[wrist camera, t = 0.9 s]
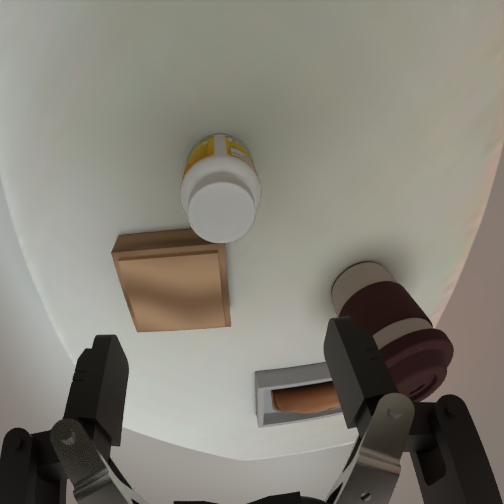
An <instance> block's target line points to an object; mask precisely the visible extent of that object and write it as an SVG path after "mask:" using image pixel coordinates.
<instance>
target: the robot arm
mask: <svg viewBox="0 0 504 504" xmlns="http://www.w3.org/2000/svg"><path fill="white" fill-rule="evenodd" d="M324 356H325V360H326V363H327V366H328V369H329V372H330V375H331V378H332V381H333V384H334V387H335V390H336V393H337V396H338V400H339V403H340V406H341V409H342V412H343V415H344V418H345V421H346V425H347V428H348V429H350V428H354V427H357V429H358V432H359V435H358V437H357V439H356V441H355V444H354V446H353V448H352V450H351V452H350V455H349V457H348V459H347V461H346V463H345V465H344V467H343V470H342V471H341V473H340V475H339V477H338V479H337V480H336V482H335V484H334V485H333V487H332V489H331V490H330V492H329V494H328V496H327V498H326V500H325V501H322V500H319V499H315V498H311V497H304V496H300V492H293V493H287V494H281V495H274V496H268V497H265V498H262V499H259V500H257V501H254V502H251V503H248V504H388V503H389V500H390V498H391V496H392V493H393V491H394V488H395V486H396V483H397V481H398V478H399V475H400V472H401V466H400V465H399V462H400V459H401V456H402V453H403V452H410V455H411V458H412V462H413V465H414V468H415V472H416V476H417V479H418V483H419V486H420V490H421V493H422V497H423V501H424V504H503V503H502V500H501V496H500V493H499V490H498V487H497V484H496V481H495V478H494V475H493V472H492V469H491V466H490V463H489V461H488V458H487V456H486V453H485V450H484V447H483V445H482V442H481V440H480V437H479V435H478V432H477V430H476V427H475V425H474V423H473V420H472V418H471V416H470V413H469V411H468V409H467V406H466V404H465V403H464V401H463V400H462V399H461V398H459V397H458V396H455V395H451V394H450V395H444V396H442V397H441V398H440V399H439V400H438V401H437V402H436V403H431V402H428V403H427V402H413V401H411V400H410V399H409V398H408V397H406V396H405V395H403V394H400V392H399V391H398V389H397V387H396V385H395V383H394V381H393V378H392V376H391V374H390V372H389V370H388V367H387V365H386V363H385V361H384V359H383V358H382V355H381V352H380V350H378V346H377V344H376V342H375V340H374V338H373V336H372V335H371V334H370V333H369V332H368V331H367V330H365V329H364V328H358V329H356V327H355V325H354V323H353V320H352V318H351V317H350V316H345V317H338V318H331V319H330V320H329V323H328V328H327V332H326V337H325V341H324ZM128 375H129V366H128V361H127V358H126V356H125V353H124V351H123V349H122V347H121V344H120V342H119V340H118V338H117V336H116V335H96V336H95V339H94V342H93V346H92V349H87V348H86V349H85V350H84V351H83V353H82V354H81V355H80V357H79V358H78V361H77V364H76V368H75V373H74V376H73V382H72V384H71V388H70V392H69V396H68V400H67V404H66V409H65V413H64V417H63V419H62V420H60V421H58V422H57V423H56V424H55V425H54V426H53V427H52V429H51V430H49V431H44V432H39V433H34V434H29V433H28V432H27V431H26V430H25V429H23V428H14V429H11V430H10V431H9V432H8V433H7V434H6V435H5V437H4V441H3V445H2V451H1V457H0V504H66V483H67V479H70V481H71V483H72V484H73V486H74V489H75V490H74V491H73V494H74V497H75V499H76V501H77V503H78V504H148V503H147V502H146V501H145V500H144V499H143V498H142V497H141V496H140V495H139V494H138V493H137V491H136V490H135V489H134V488H133V487H132V485H131V484H130V482H129V481H128V480H127V478H126V477H125V476H124V474H123V473H122V471H121V470H120V468H119V467H118V466H117V464H116V463H115V461H114V460H113V458H112V457H111V455H110V449H111V446H120V442H121V431H122V422H123V413H124V405H125V397H126V389H127V382H128ZM174 504H217V503H211V502H206V501H174Z"/></svg>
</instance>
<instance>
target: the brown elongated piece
mask: <svg viewBox="0 0 504 504" xmlns="http://www.w3.org/2000/svg"><path fill="white" fill-rule="evenodd" d="M271 397H272V406H273V409H274V410H275V411H280V412H294V413H307V414H308V413H317V412H323V411H327V410H334V409H337V408H341V406H340V403H339V400H338V396H337V393H336V390H335V387H334V384H333V381H327V382H321V383H315V384H309V385H303V386H297V387H290V388H284V389H276V390H274V389H273V390H271Z"/></svg>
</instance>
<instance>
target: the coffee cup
mask: <svg viewBox="0 0 504 504" xmlns="http://www.w3.org/2000/svg"><path fill="white" fill-rule="evenodd" d="M332 301H333V304H334V307H335V310H336V313H337V316H338V317H345V316H350V317H351V318H352V320H353V323H354V325H355V327H356V329H358V328H364V329H365V330H367V331H368V332H369V333H370V334H371V335H372V336H373V338H374V340H375V342H376V344H377V346H378V350H380V352H381V355H382V358H383V359H384V361H385V363H386V365H387V367H388V370H389V372H390V374H391V376H392V378H393V381H394V383H395V385H396V387H397V389H398V391H399V392H400V394H403V395H405V396H406V397H408V398H409V399H410V400H411V401H413V402H420V401H422V400H423V399H425V398H427V397H428V396H429V395H431V394H432V393H433V392H434V391H435V390H436V389H437V388H438V387H439V386H440V385H441V384H442V382H443V381H444V379H445V377H446V375H447V367H448V365H449V364H450V362H451V360H452V357H453V352H454V349H453V345H452V343H451V342H450V340H449V339H448V337H447V336H446V334H445V333H444V332H442V331H441V330H438V329H433V326H432V323H431V321H430V319H429V318H428V317H427V316H426V314H425V313H424V312H423V311H422V309H421V308H420V307H419V306H418V304H417V303H416V302H415V301H414V299H413V298H412V297H411V296H410V295H409V293H408V292H407V291H406V290H405V289H404V287H403V286H401V285H400V284H398V283H397V282H396V281H395V280H394V278H393V277H392V276H391V275H390V274H389V272H388V271H387V270H386V269H385V268H384V267H383V266H381V265H379V264H377V263H372V262H366V263H361V264H357V265H355V266H353V267H351V268H349V269H348V270H346V271H345V272H344V273H343V274H341V275H340V277H339V278H338V279H337V281H336V282H335V284H334V286H333V289H332Z"/></svg>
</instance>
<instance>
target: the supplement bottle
mask: <svg viewBox="0 0 504 504" xmlns="http://www.w3.org/2000/svg"><path fill="white" fill-rule="evenodd" d="M180 198H181V203H182V207H183V209H184V211H185V213H186V214H187V216H188V220H189V224H190V225H191V227H192V229H193V230H194V232H195V233H196V234H197V235H198V236H199V237H201V238H203V239H205V240H207V241H209V242H213V243H229V242H233V241H235V240H237V239H239V238H241V237H242V236H244V235H245V234H246V233H247V232H248V231H249V230H250V228H251V227H252V225H253V223H254V220H255V215H256V211H257V209H258V207H259V204H260V200H261V185H260V181H259V178H258V175H257V172H256V170H255V167H254V164H253V161H252V158H251V156H250V153H249V151H248V150H247V148H246V147H245V145H244V144H243V143H242V142H240V141H239V140H238V139H236V138H234V137H232V136H228V135H222V134H218V135H212V136H208V137H206V138H204V139H203V140H201V141H200V142H199V143H197V144H196V145H195V146H194V148H193V149H192V151H191V152H190V154H189V157H188V160H187V164H186V168H185V172H184V176H183V180H182V184H181V189H180Z"/></svg>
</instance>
